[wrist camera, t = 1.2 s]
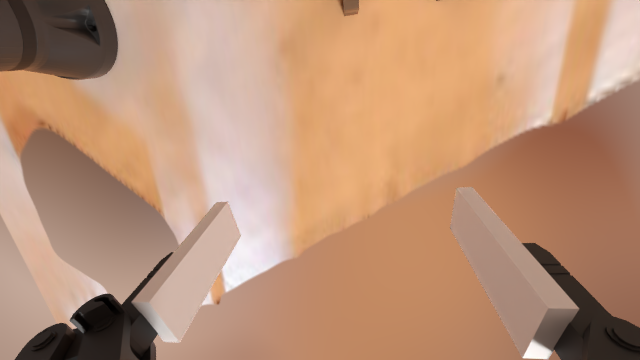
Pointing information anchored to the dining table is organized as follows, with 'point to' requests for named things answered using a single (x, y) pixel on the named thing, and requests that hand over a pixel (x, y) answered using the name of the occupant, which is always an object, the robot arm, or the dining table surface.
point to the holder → (351, 7)
